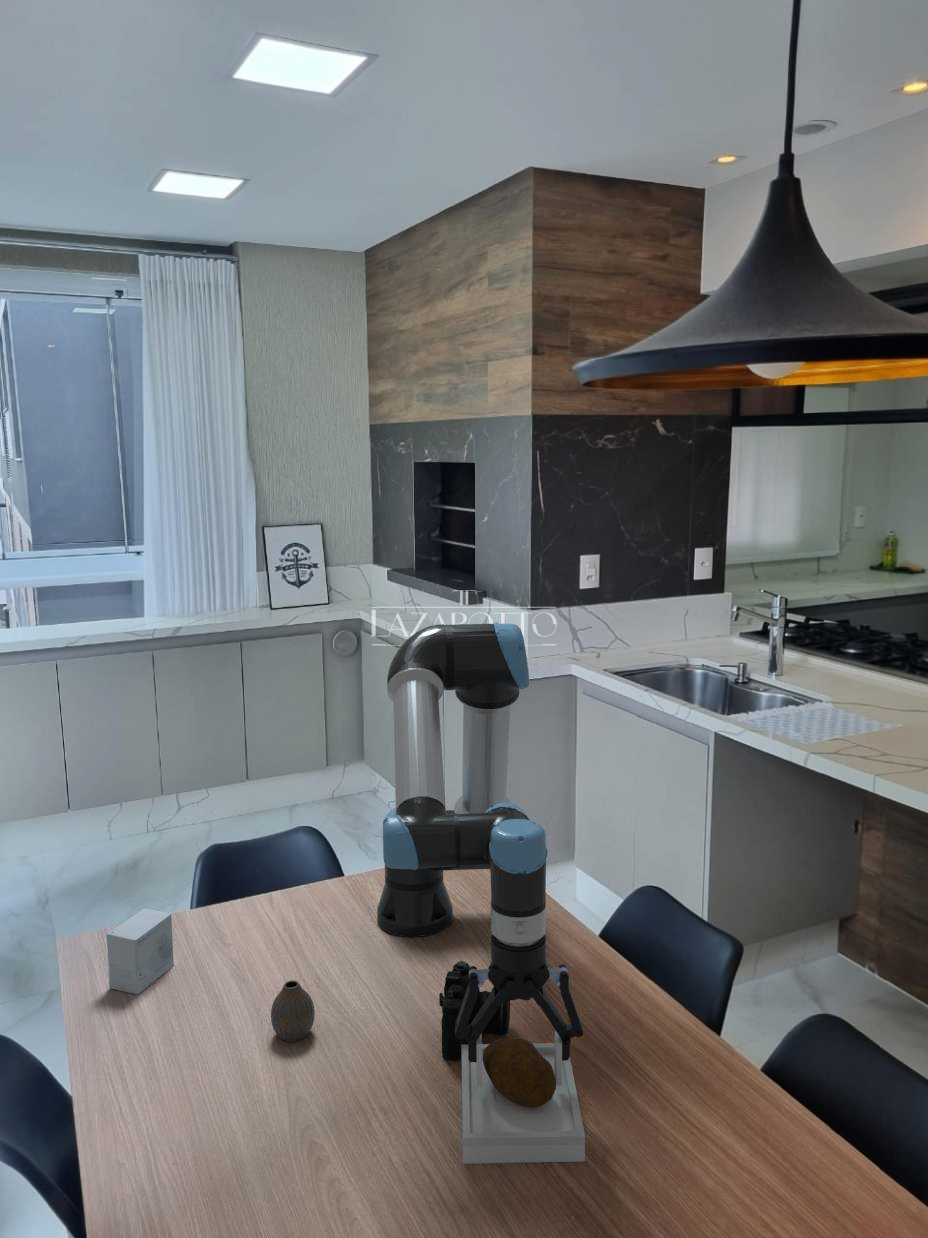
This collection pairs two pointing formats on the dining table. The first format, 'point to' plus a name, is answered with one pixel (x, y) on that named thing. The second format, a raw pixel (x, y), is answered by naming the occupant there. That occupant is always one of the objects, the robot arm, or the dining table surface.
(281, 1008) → the vase
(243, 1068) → the dining table surface
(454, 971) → the camera
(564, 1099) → the tray
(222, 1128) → the dining table surface
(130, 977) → the skincare box
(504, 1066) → the potato
